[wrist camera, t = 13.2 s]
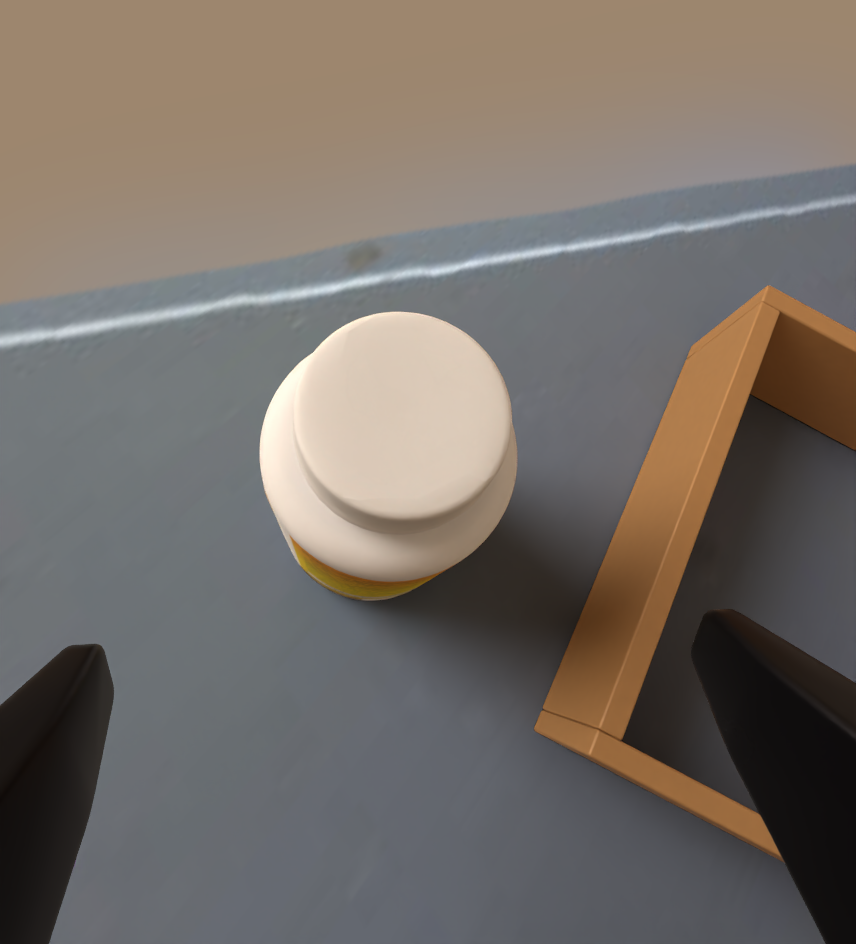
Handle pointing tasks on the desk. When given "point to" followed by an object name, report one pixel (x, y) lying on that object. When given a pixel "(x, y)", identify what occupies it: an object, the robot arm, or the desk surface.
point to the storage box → (690, 532)
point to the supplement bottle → (389, 454)
